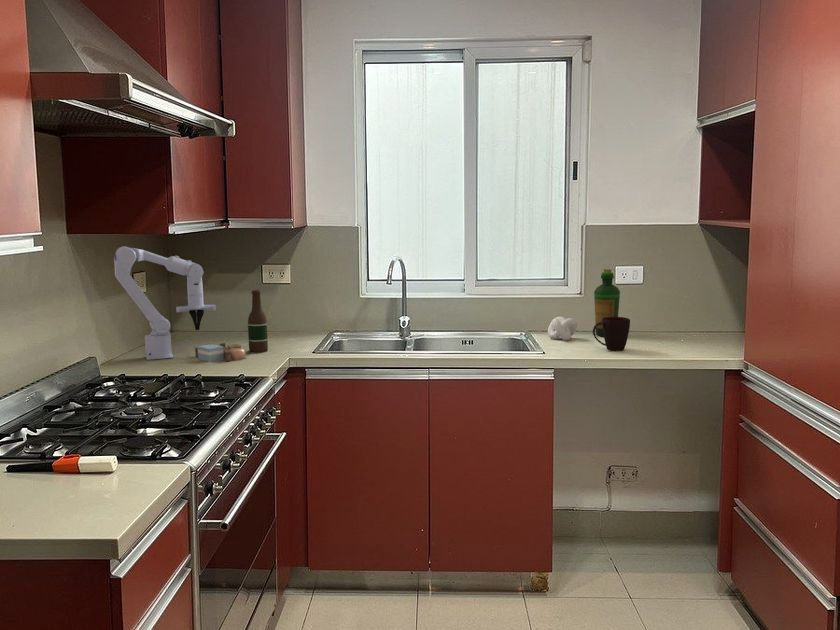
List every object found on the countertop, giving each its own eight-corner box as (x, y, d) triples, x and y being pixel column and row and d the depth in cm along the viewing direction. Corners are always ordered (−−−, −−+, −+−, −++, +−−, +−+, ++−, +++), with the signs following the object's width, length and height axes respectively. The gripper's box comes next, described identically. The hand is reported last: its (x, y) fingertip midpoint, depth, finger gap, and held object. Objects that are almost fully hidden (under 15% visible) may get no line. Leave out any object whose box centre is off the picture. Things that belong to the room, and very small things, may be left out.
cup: (632, 351, 303) (633, 320, 302) (597, 353, 302) (597, 321, 300) (623, 347, 313) (623, 316, 311) (588, 348, 312) (589, 317, 310)
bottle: (588, 335, 342) (589, 269, 338) (608, 333, 346) (609, 268, 342) (603, 338, 332) (605, 271, 328) (624, 336, 337) (626, 269, 333)
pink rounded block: (230, 361, 297) (229, 351, 296) (227, 358, 302) (227, 349, 302) (246, 359, 299) (246, 350, 298) (244, 356, 305) (243, 347, 304)
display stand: (199, 363, 292) (199, 352, 291) (195, 356, 306) (194, 345, 305) (231, 361, 295) (230, 349, 295) (225, 354, 310) (224, 342, 309)
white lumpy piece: (540, 339, 334) (540, 317, 333) (558, 335, 342) (558, 314, 341) (562, 342, 326) (562, 320, 324) (580, 338, 334) (580, 317, 332)
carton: (209, 362, 295) (208, 349, 295) (198, 359, 301) (197, 346, 300) (224, 359, 299) (223, 346, 299) (212, 357, 305) (212, 344, 304)
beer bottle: (264, 353, 311) (261, 291, 307) (245, 352, 312) (242, 291, 309) (271, 349, 318) (269, 289, 315) (253, 349, 320) (250, 289, 317)
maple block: (231, 357, 304) (230, 346, 304) (227, 355, 308) (227, 345, 307) (241, 355, 306) (240, 345, 306) (237, 354, 310) (237, 344, 309)
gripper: (176, 296, 302) (178, 332, 304) (215, 294, 307) (217, 329, 309) (175, 294, 309) (177, 329, 311) (213, 292, 313) (215, 327, 315)
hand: (197, 329), depth 310 cm, fingers closed
